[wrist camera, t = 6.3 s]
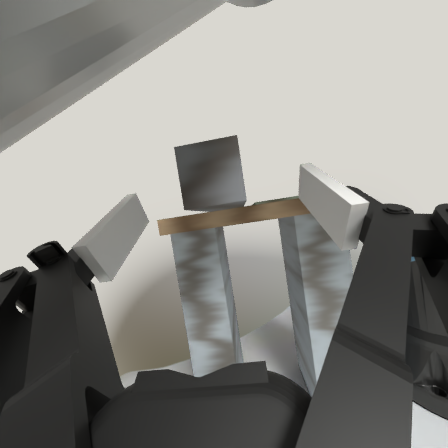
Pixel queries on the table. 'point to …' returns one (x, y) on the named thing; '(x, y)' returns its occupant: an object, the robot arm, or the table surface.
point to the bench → (222, 287)
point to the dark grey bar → (211, 175)
